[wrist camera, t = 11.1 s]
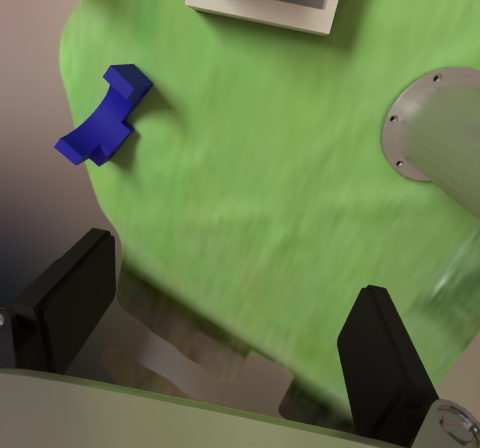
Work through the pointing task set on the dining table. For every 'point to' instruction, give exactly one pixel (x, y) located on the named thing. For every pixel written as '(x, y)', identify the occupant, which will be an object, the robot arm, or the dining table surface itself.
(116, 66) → the blue notched block
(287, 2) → the socket strip
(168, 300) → the dining table surface
